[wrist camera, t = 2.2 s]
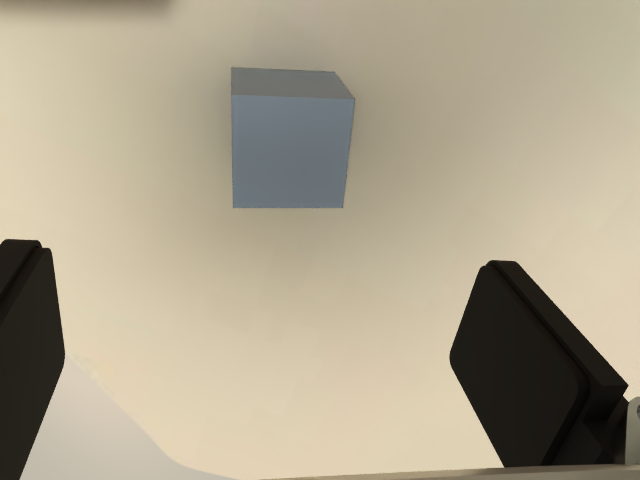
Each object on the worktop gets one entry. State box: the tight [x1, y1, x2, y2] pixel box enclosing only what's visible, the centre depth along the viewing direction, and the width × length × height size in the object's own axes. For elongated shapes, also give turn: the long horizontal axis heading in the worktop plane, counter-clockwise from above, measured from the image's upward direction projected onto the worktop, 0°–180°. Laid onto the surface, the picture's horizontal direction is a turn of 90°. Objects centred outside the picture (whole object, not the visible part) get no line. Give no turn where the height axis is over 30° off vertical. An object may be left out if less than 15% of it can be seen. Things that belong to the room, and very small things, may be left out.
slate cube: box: [231, 67, 355, 208], centre depth 28 cm, size 6×6×6 cm
